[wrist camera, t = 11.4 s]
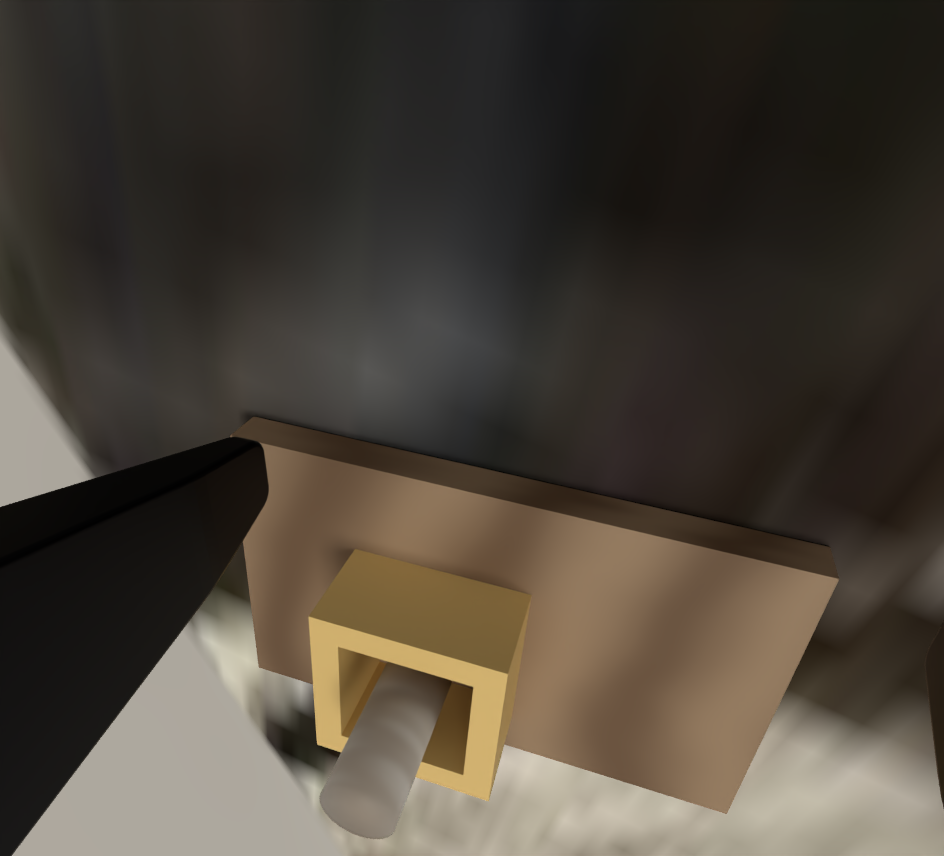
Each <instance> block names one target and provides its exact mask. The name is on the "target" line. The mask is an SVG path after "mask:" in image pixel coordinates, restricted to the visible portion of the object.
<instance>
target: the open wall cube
mask: <svg viewBox="0 0 944 856" xmlns="http://www.w3.org/2000/svg"><path fill="white" fill-rule="evenodd" d="M531 596H532V595H529V594H526V593H522V592H518V591H514V590H510V589H507V588H503V587H499V586H495V585H491V584H487V583H484V582H480V581H476V580H472V579H468V578H464V577H461V576H457V575H453V574H449V573H445V572H442V571H438V570H434V569H430V568H426V567H422V566H419V565H415V564H411V563H407V562H403V561H399V560H396V559H392V558H388V557H384V556H380V555H376V554H373V553H369V552H365V551H361V550H357V549H355V550H354V551H353V553H352V554H351V556H350V557H349V559H348V560H347V561H346V563H345V564H344V566H343V567H342V569H341V570H340V572H339V573H338V575H337V576H336V577H335V579H334V580H333V582H332V583H331V585H330V586H329V588H328V589H327V590H326V592H325V593H324V595H323V596H322V598H321V599H320V601H319V602H318V603H317V605H316V606H315V608H314V609H313V611H312V612H311V614H310V615H309V631H310V646H311V661H312V675H313V690H314V705H315V719H316V734H317V744H318V745H321V746H324V747H327V748H330V749H333V750H336V751H339V752H342V750H343V748H344V746H345V744H346V742H347V740H348V738H349V736H350V735H351V733H352V731H353V729H354V727H355V725H356V723H357V721H358V719H359V717H360V715H361V713H362V711H363V709H364V707H365V705H366V703H367V701H368V699H369V697H370V695H371V693H372V691H373V689H374V687H375V685H376V683H377V681H378V679H379V677H380V675H381V673H382V671H383V669H384V667H385V665H386V663H384V662H380V659H381V660H384V661H388V662H391V663H395V664H398V665H401V666H405V667H408V668H411V669H415V670H418V671H422V672H425V673H428V674H432V675H435V676H438V677H442V678H445V679H449V680H452V681H455V682H459V683H462V684H465V685H469V686H472V687H473V689H471V688H468V687H464V686H461V685H458V684H454V683H451V686H450V688H449V691H448V694H447V696H446V699H445V701H444V704H443V706H442V709H441V712H440V714H439V717H438V719H437V722H436V725H435V727H434V730H433V732H432V735H431V738H430V740H429V743H428V745H427V748H426V751H425V753H424V756H423V758H422V761H421V763H420V766H419V769H418V771H417V774H416V776H415V777H417V778H420V779H423V780H426V781H429V782H432V783H435V784H438V785H441V786H444V787H447V788H450V789H453V790H456V791H459V792H462V793H465V794H468V795H471V796H474V797H477V798H480V799H483V800H486V801H489V798H490V794H491V791H492V787H493V783H494V780H495V776H496V772H497V769H498V765H499V762H500V758H501V754H502V751H503V747H504V743H505V740H506V736H507V732H508V729H509V725H510V721H511V718H512V712H513V706H514V699H515V693H516V687H517V681H518V675H519V669H520V663H521V657H522V651H523V645H524V639H525V632H526V626H527V620H528V614H529V608H530V602H531Z"/></svg>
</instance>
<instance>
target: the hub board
mask: <svg viewBox="0 0 944 856" xmlns="http://www.w3.org/2000/svg"><path fill="white" fill-rule="evenodd" d="M230 437H241V438H246V439H250V440H255V441H258V442H259V443H260V444H261V445H262V447H263V449H264V454H265V461H266V468H267V476H268V483H269V494H268V498H267V501H266V503H265V505H264V507H263V509H262V510H261V512H260V514H259V515H258V517H257V519H256V520H255V522H254V524H253V525H252V527H251V529H250V530H249V532H248V534H247V535H246V537H245V539H244V540H243V544H244V552H245V560H246V568H247V576H248V584H249V592H250V600H251V608H252V616H253V624H254V632H255V640H256V648H257V656H258V664H259V668H263V669H266V670H269V671H272V672H275V673H279V674H282V675H285V676H288V677H291V678H295V679H298V680H301V681H304V682H307V683H310V684H313V675H312V661H311V646H310V631H309V615H310V614H311V612H312V611H313V609H314V608H315V606H316V605H317V603H318V602H319V601H320V599H321V598H322V596H323V595H324V593H325V592H326V590H327V589H328V588H329V586H330V585H331V583H332V582H333V580H334V579H335V577H336V576H337V575H338V573H339V572H340V570H341V569H342V567H343V566H344V564H345V563H346V561H347V560H348V559H349V557H350V556H351V554H352V553H353V551H354V550H355V549H357V550H361V551H365V552H369V553H373V554H376V555H380V556H384V557H388V558H392V559H396V560H399V561H403V562H407V563H411V564H415V565H419V566H422V567H426V568H430V569H434V570H438V571H442V572H445V573H449V574H453V575H457V576H461V577H464V578H468V579H472V580H476V581H480V582H484V583H487V584H491V585H495V586H499V587H503V588H507V589H510V590H514V591H518V592H522V593H526V594H529V595H532V596H531V602H530V608H529V614H528V620H527V626H526V632H525V639H524V645H523V651H522V657H521V663H520V669H519V675H518V681H517V687H516V693H515V699H514V706H513V712H512V718H511V721H510V725H509V729H508V732H507V736H506V740H505V743H504V744H505V745H508V746H512V747H515V748H518V749H521V750H524V751H528V752H531V753H534V754H537V755H540V756H544V757H547V758H550V759H553V760H556V761H559V762H563V763H566V764H569V765H572V766H575V767H579V768H582V769H585V770H588V771H591V772H595V773H598V774H601V775H604V776H607V777H611V778H614V779H617V780H620V781H623V782H627V783H630V784H633V785H636V786H639V787H642V788H646V789H649V790H652V791H655V792H658V793H662V794H665V795H668V796H671V797H674V798H678V799H681V800H684V801H687V802H690V803H694V804H697V805H700V806H703V807H706V808H710V809H713V810H716V811H719V812H722V813H725V814H727V812H728V810H729V808H730V806H731V804H732V802H733V800H734V798H735V795H736V793H737V791H738V789H739V787H740V785H741V783H742V781H743V779H744V777H745V775H746V772H747V770H748V768H749V766H750V764H751V762H752V760H753V758H754V756H755V754H756V752H757V749H758V747H759V745H760V743H761V741H762V739H763V737H764V735H765V733H766V731H767V729H768V726H769V724H770V722H771V720H772V718H773V716H774V714H775V712H776V710H777V708H778V706H779V704H780V701H781V699H782V697H783V695H784V693H785V691H786V689H787V687H788V685H789V683H790V681H791V678H792V676H793V674H794V672H795V670H796V668H797V666H798V664H799V662H800V660H801V658H802V655H803V653H804V651H805V649H806V647H807V645H808V643H809V641H810V639H811V637H812V635H813V632H814V630H815V628H816V626H817V624H818V622H819V620H820V618H821V616H822V614H823V612H824V609H825V607H826V605H827V603H828V601H829V599H830V597H831V595H832V593H833V591H834V589H835V586H836V584H837V582H838V580H839V577H838V574H837V570H836V567H835V563H834V560H833V556H832V553H831V549H830V547H827V546H823V545H818V544H814V543H810V542H805V541H801V540H796V539H792V538H788V537H783V536H779V535H774V534H770V533H765V532H761V531H757V530H752V529H748V528H743V527H739V526H735V525H730V524H726V523H721V522H717V521H713V520H708V519H704V518H699V517H695V516H691V515H686V514H682V513H677V512H673V511H668V510H664V509H660V508H655V507H651V506H646V505H642V504H638V503H633V502H629V501H624V500H620V499H616V498H611V497H607V496H602V495H598V494H594V493H589V492H585V491H580V490H576V489H571V488H567V487H563V486H558V485H554V484H549V483H545V482H541V481H536V480H532V479H527V478H523V477H519V476H514V475H510V474H505V473H501V472H497V471H492V470H488V469H483V468H479V467H474V466H470V465H466V464H461V463H457V462H452V461H448V460H444V459H439V458H435V457H430V456H426V455H422V454H417V453H413V452H408V451H404V450H400V449H395V448H391V447H386V446H382V445H377V444H373V443H369V442H364V441H360V440H355V439H351V438H347V437H342V436H338V435H333V434H329V433H325V432H320V431H316V430H311V429H307V428H303V427H298V426H294V425H289V424H285V423H280V422H276V421H272V420H267V419H263V418H258V417H252V418H251V419H250V420H249V421H247V422H246V423H245V424H244V425H243V426H241V427H240V428H239V429H238V430H236V431H235V432H234V433H233V434H231V435H230ZM380 662H384V663H386V665H385V667H384V669H383V671H382V673H381V675H380V677H379V679H378V681H377V683H376V685H375V687H374V689H373V691H372V693H371V695H370V697H369V699H368V701H367V703H366V705H365V707H364V709H363V711H362V713H361V715H360V717H359V719H358V721H357V723H356V725H355V727H354V729H353V731H352V733H351V735H350V736H349V738H348V740H347V742H346V744H345V746H344V748H343V750H342V752H341V754H340V756H339V758H338V760H337V762H336V764H335V766H334V768H333V770H332V772H331V774H330V776H329V778H328V780H327V782H326V784H325V786H324V788H323V790H322V792H321V794H320V804H321V806H322V808H323V810H324V812H325V813H326V814H327V815H328V817H329V818H330V819H331V820H332V821H334V822H335V823H336V824H337V825H339V826H340V827H342V828H343V829H345V830H347V831H349V832H351V833H353V834H355V835H358V836H361V837H365V838H370V839H383V838H386V837H389V836H390V835H392V834H393V832H394V831H395V828H396V826H397V823H398V820H399V818H400V815H401V813H402V810H403V808H404V805H405V802H406V800H407V797H408V795H409V792H410V789H411V787H412V784H413V782H414V779H415V776H416V774H417V771H418V769H419V766H420V763H421V761H422V758H423V756H424V753H425V751H426V748H427V745H428V743H429V740H430V738H431V735H432V732H433V730H434V727H435V725H436V722H437V719H438V717H439V714H440V712H441V709H442V706H443V704H444V701H445V699H446V696H447V694H448V691H449V688H450V686H451V683H454V684H458V685H461V686H464V687H468V688H471V689H473V687H472V686H469V685H465V684H462V683H459V682H455V681H452V680H449V679H445V678H442V677H438V676H435V675H432V674H428V673H425V672H422V671H418V670H415V669H411V668H408V667H405V666H401V665H398V664H395V663H391V662H388V661H384V660H381V659H380Z"/></svg>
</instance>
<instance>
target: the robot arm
mask: <svg viewBox="0 0 944 856" xmlns="http://www.w3.org/2000/svg"><path fill="white" fill-rule="evenodd" d="M268 494H269V483H268V476H267V468H266V461H265V454H264V449H263V447H262V445H261V444H260V443H259V442H258V441H255V440H250V439H246V438H241V437H229V438H226V439H222V440H219V441H216V442H213V443H209V444H206V445H203V446H199V447H196V448H193V449H189V450H186V451H183V452H180V453H176V454H173V455H170V456H166V457H163V458H160V459H157V460H153V461H150V462H147V463H143V464H140V465H137V466H134V467H130V468H127V469H124V470H120V471H117V472H114V473H111V474H107V475H104V476H101V477H97V478H94V479H91V480H88V481H84V482H81V483H78V484H74V485H71V486H68V487H65V488H61V489H58V490H55V491H51V492H48V493H45V494H41V495H38V496H35V497H32V498H28V499H25V500H22V501H18V502H15V503H12V504H9V505H6V506H2V507H0V856H12V855H13V853H14V852H15V851H16V849H17V848H18V846H19V845H20V844H21V843H22V841H23V840H24V839H25V837H26V836H27V835H28V833H29V832H30V831H31V830H32V828H33V827H34V826H35V824H36V823H37V822H38V820H39V819H40V818H41V816H42V815H43V814H44V812H45V811H46V810H47V808H48V807H49V806H50V804H51V803H52V802H53V800H54V799H55V798H56V796H57V795H58V794H59V792H60V791H61V790H62V788H63V787H64V786H65V785H66V783H67V782H68V781H69V779H70V778H71V777H72V775H73V774H74V773H75V771H76V770H77V769H78V767H79V766H80V765H81V763H82V762H83V761H84V759H85V758H86V757H87V756H88V754H89V753H90V752H91V750H92V749H93V748H94V746H95V745H96V744H97V742H98V741H99V740H100V738H101V737H102V736H103V734H104V733H105V732H106V730H107V729H108V728H109V726H110V725H111V724H112V722H113V721H114V720H115V719H116V717H117V716H118V715H119V713H120V712H121V711H122V709H123V708H124V707H125V705H126V704H127V703H128V701H129V700H130V699H131V697H132V696H133V695H134V693H135V692H136V690H137V689H138V688H139V687H140V685H141V684H142V683H143V682H144V680H145V679H146V678H147V676H148V675H149V674H150V672H151V671H152V670H153V668H154V667H155V665H156V664H157V663H158V662H159V660H160V659H161V658H162V656H163V655H164V654H165V652H166V651H167V650H168V648H169V647H170V646H171V645H172V643H173V642H174V641H175V639H176V638H177V637H178V635H179V634H180V633H181V631H182V630H183V629H184V627H185V626H186V625H187V623H188V622H189V621H190V619H191V618H192V617H193V615H194V614H195V613H196V611H197V610H198V609H199V608H200V606H201V605H202V604H203V602H204V601H205V600H206V598H207V597H208V595H209V594H210V593H211V591H212V590H213V588H214V587H215V586H216V584H217V582H218V581H219V579H220V578H221V576H222V575H223V573H224V572H225V570H226V568H227V567H228V565H229V563H230V562H231V560H232V558H233V557H234V555H235V553H236V552H237V550H238V548H239V547H240V545H241V543H242V542H243V540H244V539H245V537H246V535H247V534H248V532H249V530H250V529H251V527H252V525H253V524H254V522H255V520H256V519H257V517H258V515H259V514H260V512H261V510H262V509H263V507H264V505H265V503H266V501H267V498H268ZM925 672H926V681H927V689H928V697H929V706H930V714H931V722H932V731H933V739H934V748H935V756H936V764H937V773H938V779H939V786H940V793H941V798H942V803H943V807H944V622H943V624H942V625H941V627H940V629H939V631H938V632H937V634H936V636H935V637H934V639H933V641H932V643H931V644H930V646H929V648H928V651H927V654H926V659H925Z"/></svg>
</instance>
